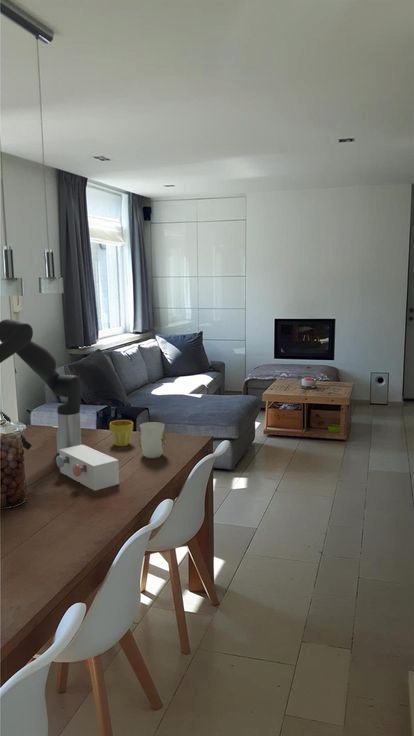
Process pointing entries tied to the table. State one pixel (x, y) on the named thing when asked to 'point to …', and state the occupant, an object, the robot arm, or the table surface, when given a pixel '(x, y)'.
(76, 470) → the red key
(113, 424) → the plant pot
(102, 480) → the key box
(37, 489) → the table surface
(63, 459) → the blue key
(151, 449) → the pitcher
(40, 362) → the robot arm
